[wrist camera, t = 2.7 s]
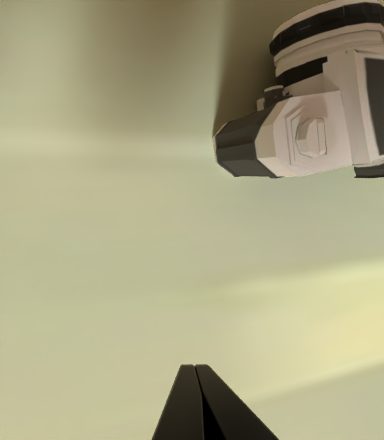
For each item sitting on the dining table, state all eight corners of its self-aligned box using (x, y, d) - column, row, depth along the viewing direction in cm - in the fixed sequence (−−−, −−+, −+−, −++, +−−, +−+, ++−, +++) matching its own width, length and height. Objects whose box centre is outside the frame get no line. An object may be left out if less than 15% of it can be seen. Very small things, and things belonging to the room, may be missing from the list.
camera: (394, 35, 23) (602, -61, 14) (399, 151, 25) (586, 137, 15) (196, 53, 19) (295, -67, 9) (218, 190, 21) (320, 205, 11)
